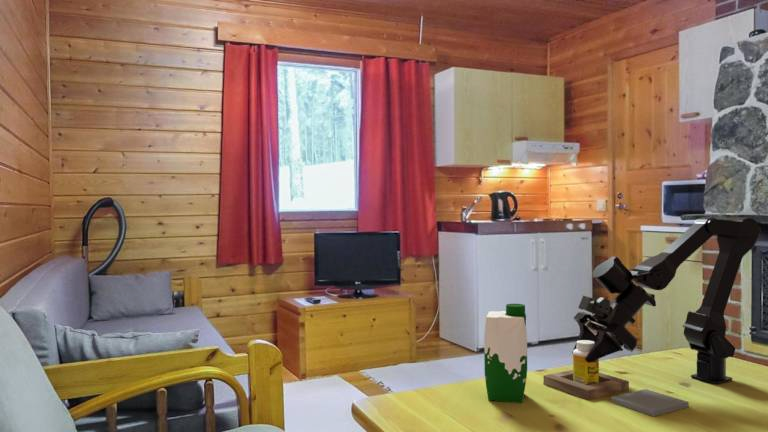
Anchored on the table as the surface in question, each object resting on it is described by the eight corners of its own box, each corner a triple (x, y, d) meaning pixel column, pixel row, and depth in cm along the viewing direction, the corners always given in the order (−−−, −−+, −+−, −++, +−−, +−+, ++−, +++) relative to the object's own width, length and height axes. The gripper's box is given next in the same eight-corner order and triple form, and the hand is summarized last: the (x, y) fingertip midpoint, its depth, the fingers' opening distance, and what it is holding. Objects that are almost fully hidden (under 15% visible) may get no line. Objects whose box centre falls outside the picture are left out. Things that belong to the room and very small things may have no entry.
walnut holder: (583, 375, 143) (583, 367, 143) (628, 390, 131) (628, 381, 131) (543, 384, 136) (543, 375, 136) (588, 399, 125) (588, 390, 125)
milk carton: (526, 405, 122) (526, 308, 122) (482, 401, 125) (482, 307, 124) (528, 392, 131) (527, 302, 130) (486, 389, 133) (486, 301, 133)
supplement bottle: (588, 391, 130) (587, 345, 130) (568, 385, 135) (567, 341, 135) (604, 387, 133) (603, 342, 133) (583, 381, 138) (583, 338, 138)
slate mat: (645, 393, 129) (645, 388, 129) (688, 406, 120) (688, 401, 120) (611, 402, 123) (611, 397, 123) (653, 416, 115) (653, 411, 115)
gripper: (580, 278, 143) (538, 326, 142) (623, 288, 125) (576, 343, 123) (610, 309, 145) (569, 356, 143) (658, 323, 126) (611, 378, 125)
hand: (580, 357), depth 134 cm, fingers closed on supplement bottle, 5 cm apart
